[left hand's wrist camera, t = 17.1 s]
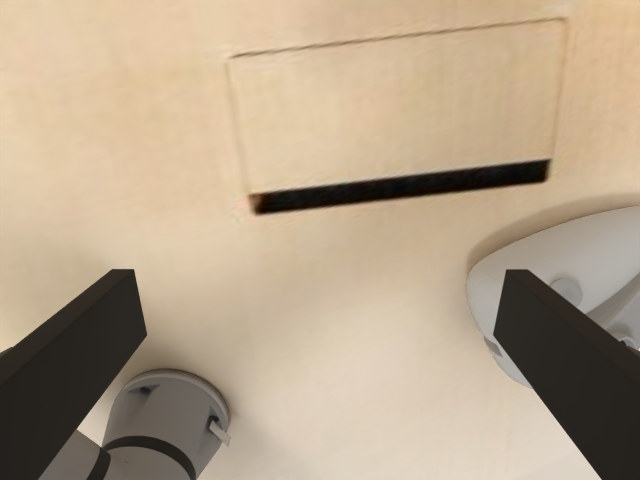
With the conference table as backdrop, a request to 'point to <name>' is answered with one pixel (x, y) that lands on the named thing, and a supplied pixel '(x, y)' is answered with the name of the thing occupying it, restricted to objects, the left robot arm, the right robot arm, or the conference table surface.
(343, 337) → the conference table surface
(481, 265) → the projector
